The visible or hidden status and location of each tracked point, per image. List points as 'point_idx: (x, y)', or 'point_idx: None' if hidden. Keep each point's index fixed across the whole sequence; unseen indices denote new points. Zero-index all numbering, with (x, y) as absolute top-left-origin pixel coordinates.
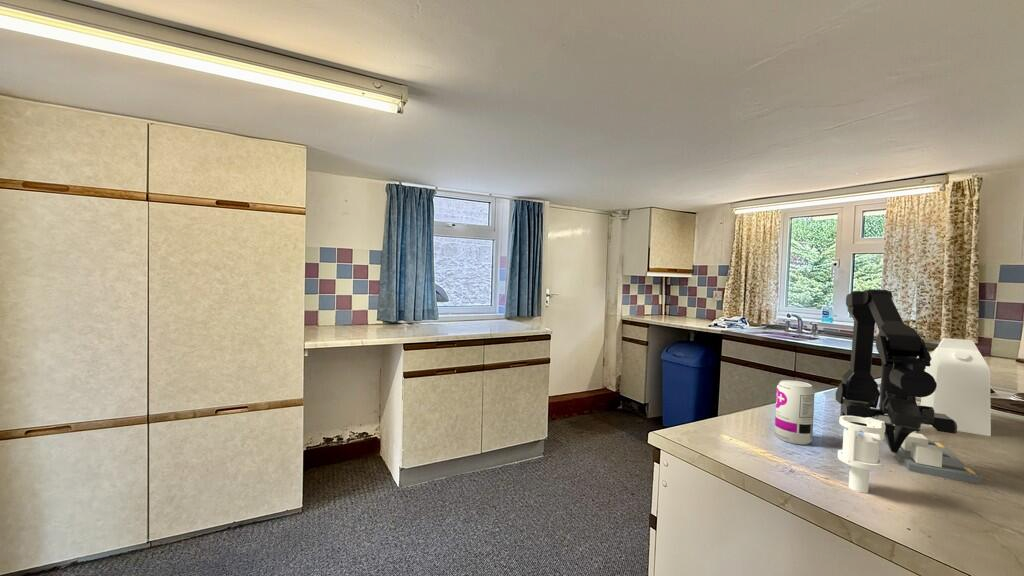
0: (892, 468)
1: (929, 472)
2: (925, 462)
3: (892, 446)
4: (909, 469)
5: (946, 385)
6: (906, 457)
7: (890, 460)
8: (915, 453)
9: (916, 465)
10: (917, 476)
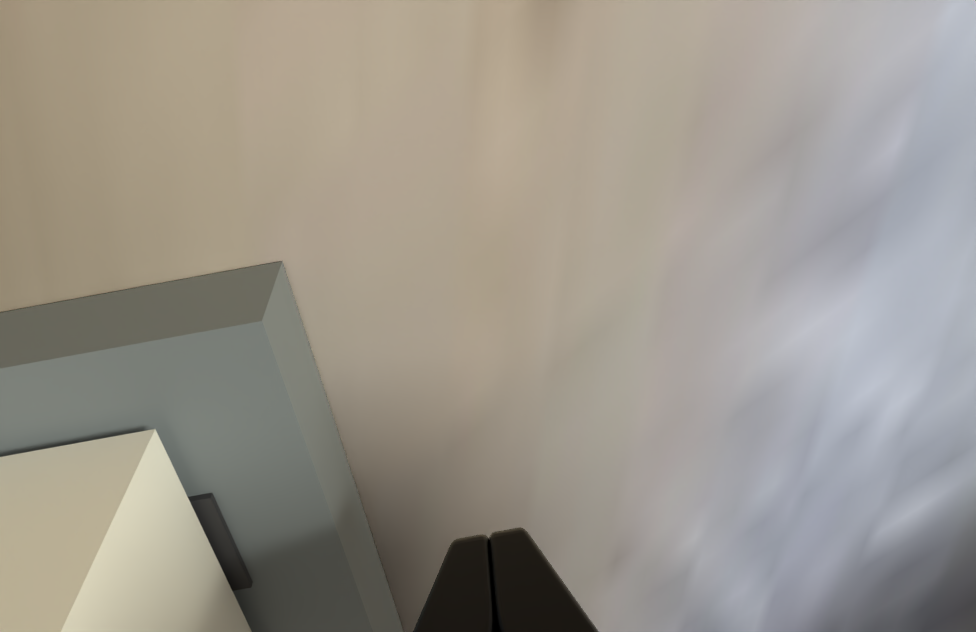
0: (505, 172)
1: (5, 327)
2: (14, 477)
3: (543, 618)
4: (273, 269)
5: None
6: (313, 595)
7: (499, 507)
8: (148, 627)
9: (155, 335)
10: (150, 56)
